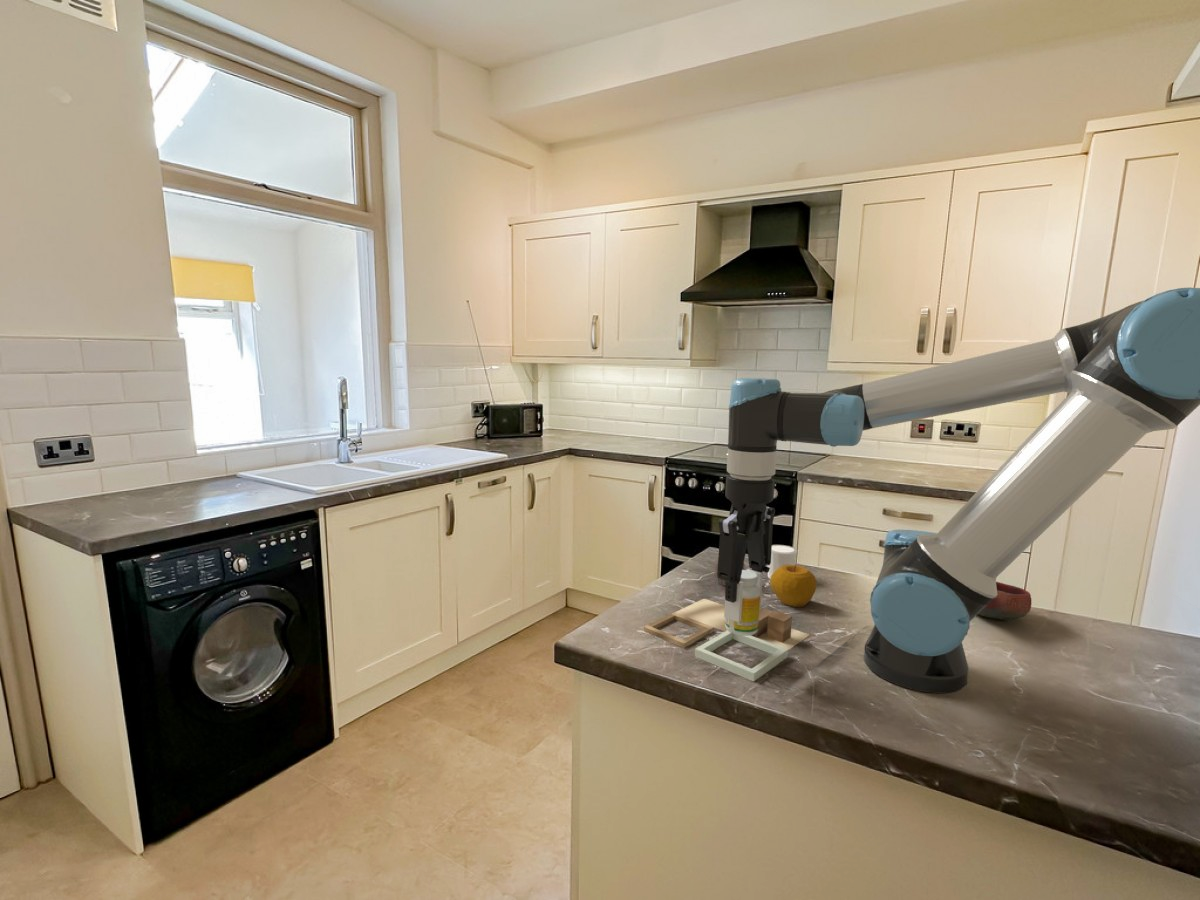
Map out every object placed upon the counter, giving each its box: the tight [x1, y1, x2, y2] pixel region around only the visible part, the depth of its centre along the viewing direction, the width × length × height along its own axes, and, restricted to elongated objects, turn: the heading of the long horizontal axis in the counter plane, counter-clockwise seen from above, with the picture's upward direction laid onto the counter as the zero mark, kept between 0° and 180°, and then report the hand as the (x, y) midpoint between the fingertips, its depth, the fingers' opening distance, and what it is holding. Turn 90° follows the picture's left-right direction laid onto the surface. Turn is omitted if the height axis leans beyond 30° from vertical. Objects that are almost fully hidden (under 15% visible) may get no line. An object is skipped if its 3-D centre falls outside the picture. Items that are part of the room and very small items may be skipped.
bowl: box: [977, 581, 1032, 621], centre depth 116 cm, size 16×13×8 cm
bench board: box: [675, 598, 811, 651], centre depth 111 cm, size 23×10×5 cm, turn 45°
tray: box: [694, 630, 789, 682], centre depth 98 cm, size 11×11×2 cm
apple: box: [769, 564, 817, 608], centre depth 121 cm, size 9×9×9 cm
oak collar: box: [643, 611, 715, 649], centre depth 107 cm, size 9×9×2 cm
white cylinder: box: [766, 544, 798, 579], centre depth 138 cm, size 7×7×7 cm
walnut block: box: [751, 607, 775, 638], centre depth 109 cm, size 6×6×3 cm
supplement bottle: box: [725, 569, 762, 636], centre depth 97 cm, size 5×5×10 cm
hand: (742, 613), depth 97 cm, fingers closed on supplement bottle, 5 cm apart
